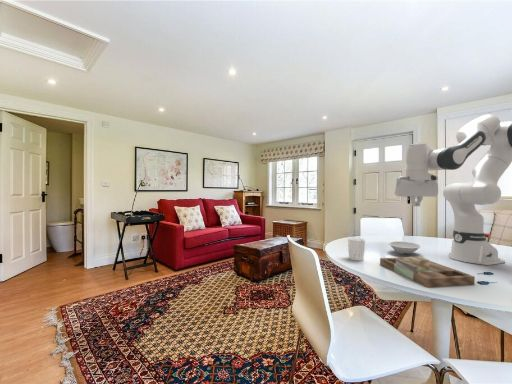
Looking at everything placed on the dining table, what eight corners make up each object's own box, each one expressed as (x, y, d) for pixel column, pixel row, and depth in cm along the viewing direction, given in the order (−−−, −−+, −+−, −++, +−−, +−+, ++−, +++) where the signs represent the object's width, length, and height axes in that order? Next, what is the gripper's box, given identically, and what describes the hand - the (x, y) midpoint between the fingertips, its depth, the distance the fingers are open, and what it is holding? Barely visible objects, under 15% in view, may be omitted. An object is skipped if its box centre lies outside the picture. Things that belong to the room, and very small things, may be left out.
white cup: (367, 258, 124) (367, 239, 123) (361, 262, 118) (361, 241, 118) (351, 255, 129) (351, 236, 129) (345, 258, 123) (345, 238, 123)
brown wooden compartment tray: (418, 263, 118) (418, 251, 118) (474, 284, 92) (474, 269, 92) (380, 264, 114) (380, 252, 114) (427, 287, 89) (427, 272, 89)
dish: (396, 248, 146) (397, 240, 145) (425, 254, 134) (425, 244, 134) (383, 253, 135) (383, 244, 134) (412, 259, 123) (412, 249, 123)
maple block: (419, 266, 103) (419, 256, 103) (429, 270, 98) (429, 260, 98) (408, 266, 103) (408, 256, 103) (417, 270, 98) (418, 260, 98)
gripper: (402, 176, 112) (401, 206, 112) (441, 177, 115) (440, 206, 115) (392, 176, 118) (391, 205, 118) (429, 177, 121) (428, 205, 121)
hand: (415, 206), depth 117 cm, fingers closed
